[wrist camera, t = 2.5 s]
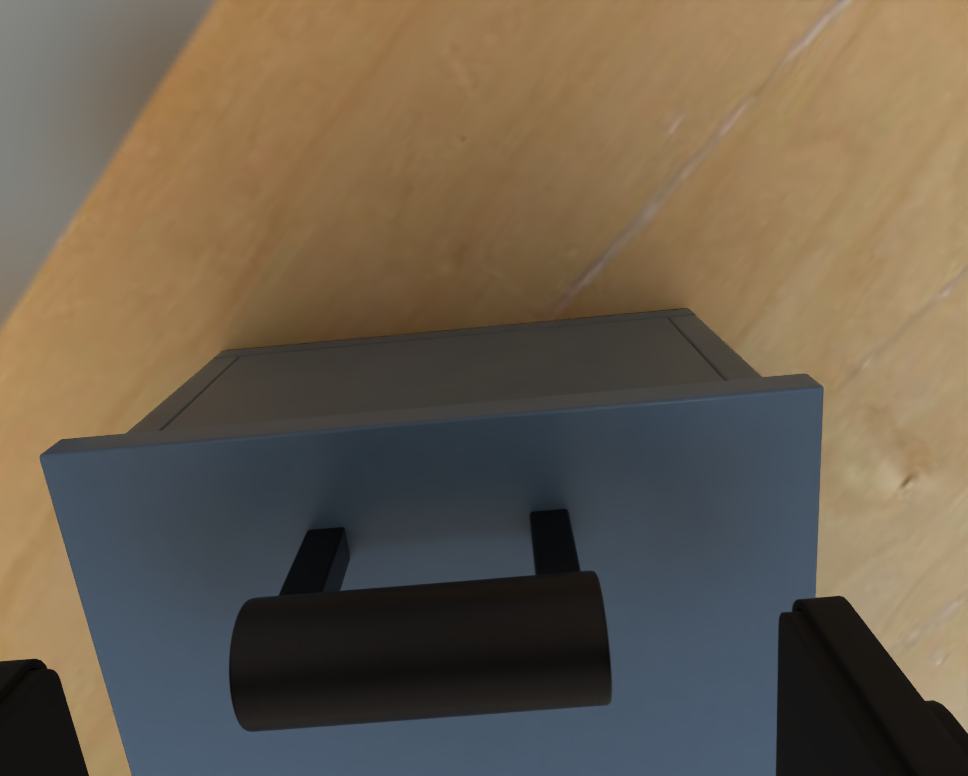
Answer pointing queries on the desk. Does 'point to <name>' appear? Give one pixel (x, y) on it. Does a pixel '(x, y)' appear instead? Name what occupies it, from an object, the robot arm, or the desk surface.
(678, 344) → the grey open box
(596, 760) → the lid
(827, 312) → the desk surface
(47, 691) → the robot arm
